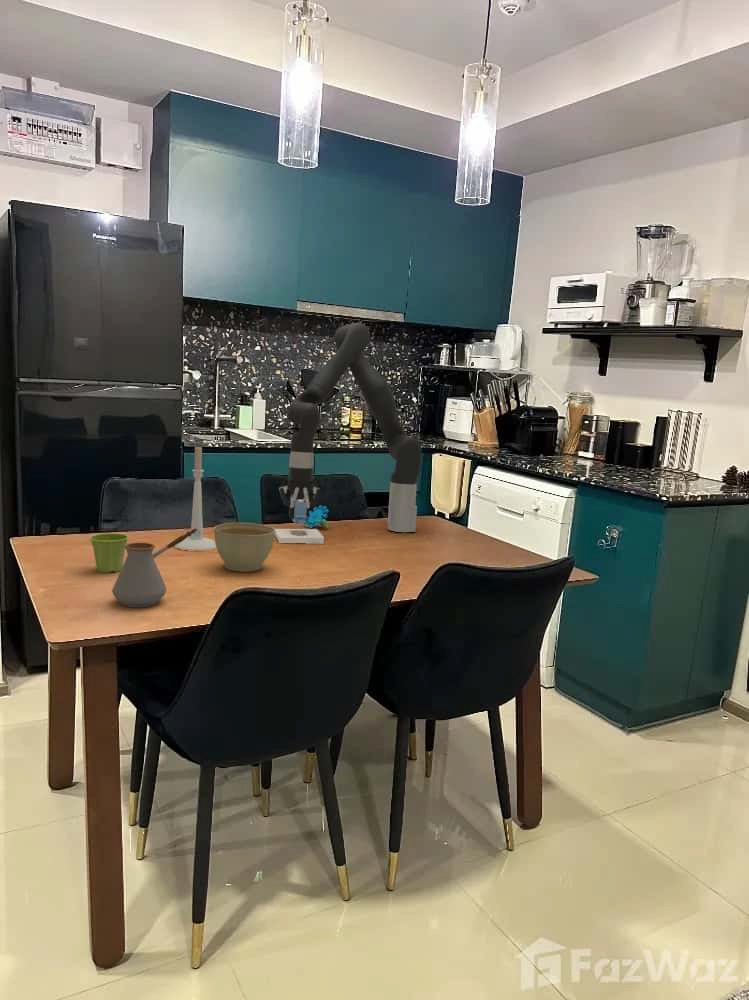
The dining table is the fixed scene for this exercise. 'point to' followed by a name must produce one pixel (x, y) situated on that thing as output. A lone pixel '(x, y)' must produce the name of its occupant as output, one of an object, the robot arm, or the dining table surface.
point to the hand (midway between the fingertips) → (298, 518)
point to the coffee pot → (142, 575)
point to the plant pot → (109, 551)
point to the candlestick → (197, 512)
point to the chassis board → (291, 536)
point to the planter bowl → (243, 545)
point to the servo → (300, 511)
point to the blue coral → (317, 517)
